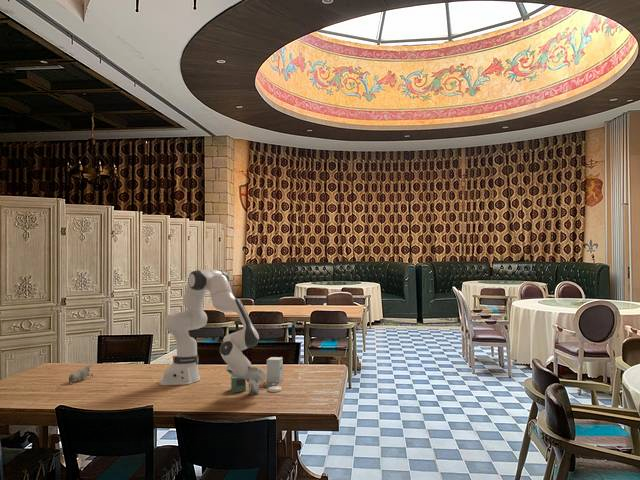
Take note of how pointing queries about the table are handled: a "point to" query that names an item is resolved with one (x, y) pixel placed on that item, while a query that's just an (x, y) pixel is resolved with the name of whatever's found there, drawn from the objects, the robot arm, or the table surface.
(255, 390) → the grey-lidded jar
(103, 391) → the table surface
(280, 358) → the supplement box
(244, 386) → the block
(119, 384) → the table surface
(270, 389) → the cream dome cap
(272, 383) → the disc
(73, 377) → the decorative bird
